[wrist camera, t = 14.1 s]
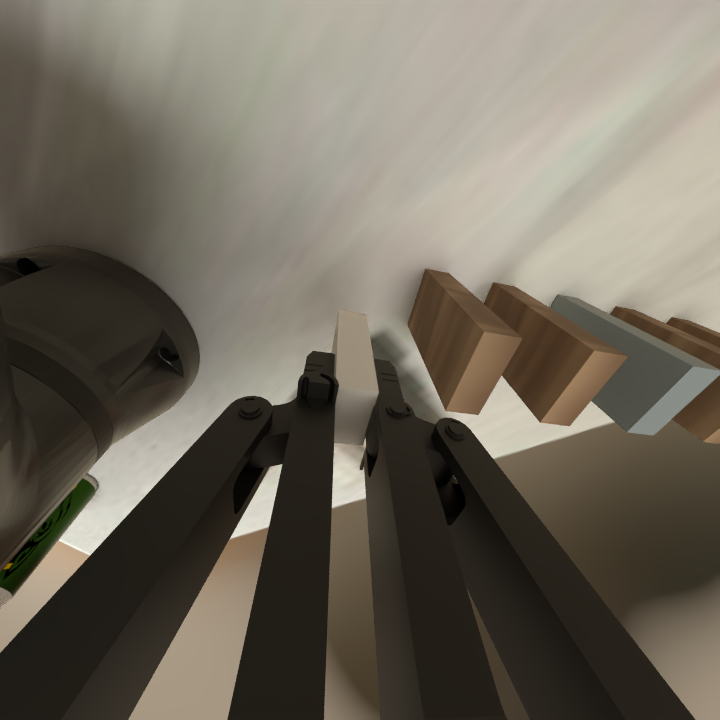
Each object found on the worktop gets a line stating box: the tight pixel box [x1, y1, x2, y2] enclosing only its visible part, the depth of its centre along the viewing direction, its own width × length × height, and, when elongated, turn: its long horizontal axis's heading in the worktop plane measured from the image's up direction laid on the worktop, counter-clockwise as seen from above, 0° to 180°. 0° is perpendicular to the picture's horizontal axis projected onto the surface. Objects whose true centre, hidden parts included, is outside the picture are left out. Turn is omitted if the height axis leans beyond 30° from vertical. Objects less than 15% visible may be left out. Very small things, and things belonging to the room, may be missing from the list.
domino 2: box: [484, 283, 628, 426], centre depth 20 cm, size 2×5×11 cm, turn 169°
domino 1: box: [408, 269, 523, 415], centre depth 19 cm, size 2×5×11 cm, turn 169°
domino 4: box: [610, 306, 720, 444], centre depth 21 cm, size 2×5×11 cm, turn 169°
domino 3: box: [550, 295, 720, 435], centre depth 21 cm, size 2×5×11 cm, turn 169°
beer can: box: [0, 474, 97, 607], centre depth 29 cm, size 5×5×12 cm
